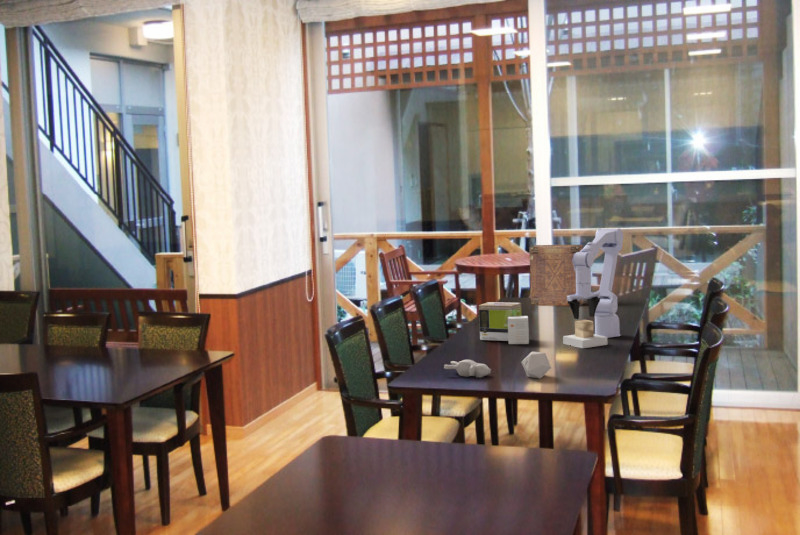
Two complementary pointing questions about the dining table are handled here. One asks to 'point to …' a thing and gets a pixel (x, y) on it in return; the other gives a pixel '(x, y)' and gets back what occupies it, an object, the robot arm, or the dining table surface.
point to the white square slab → (585, 341)
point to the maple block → (584, 328)
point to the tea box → (496, 319)
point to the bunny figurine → (469, 368)
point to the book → (552, 274)
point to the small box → (518, 330)
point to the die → (536, 364)
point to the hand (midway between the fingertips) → (584, 317)
